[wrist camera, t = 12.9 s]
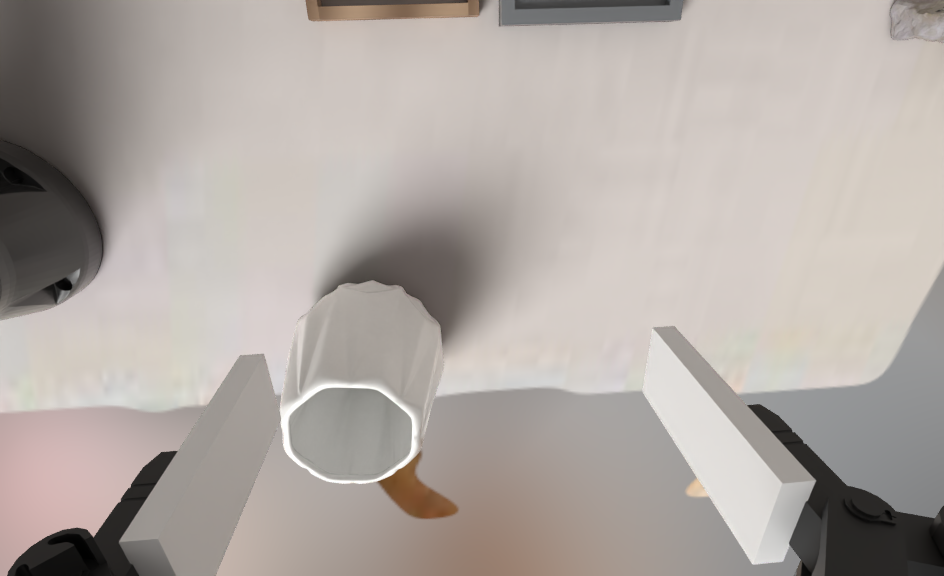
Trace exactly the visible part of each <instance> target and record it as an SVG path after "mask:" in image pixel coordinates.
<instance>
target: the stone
mask: <svg viewBox="0 0 944 576" xmlns="http://www.w3.org/2000/svg"><path fill="white" fill-rule="evenodd" d="M890 17H891V19H892V29H891V38H892V39H893V40H908V39H913V38H917V39H923V40H925V41H932V42H934V41H938V42H941V43H944V0H896V1H895V3H894V4H893V6H892V7H891V11H890Z"/></svg>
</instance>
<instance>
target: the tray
mask: <svg viewBox="0 0 944 576" xmlns="http://www.w3.org/2000/svg"><path fill="white" fill-rule="evenodd" d="M682 6H683V0H499V26H530V25H565V24H601V23H636V22H671V21H678V20H681V13H682Z"/></svg>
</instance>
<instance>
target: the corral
mask: <svg viewBox="0 0 944 576" xmlns="http://www.w3.org/2000/svg"><path fill="white" fill-rule="evenodd" d="M306 6H307V13H308V19H309V20H311V21H339V20H376V19H412V18H449V17H478V16H479V0H467V3H443V4H404V5H365V6H325V7H322V5H321V0H306Z"/></svg>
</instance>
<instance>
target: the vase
mask: <svg viewBox="0 0 944 576" xmlns="http://www.w3.org/2000/svg"><path fill="white" fill-rule="evenodd" d="M440 328H441V326H440V325H439V323H438V321H437V320H435V319H434V318H433V317H432V316H430V314H429V313H428V312H427V310H426V309H425V307H424V306H423V304H422V302H421V301H420V300H419V299H416V298H414V297H412V296H410V295H408V294H407V293H406V292H405V290H404V288H403V287H401V286H399V285H388V286H387V285H384V284H381V283H379V282H376V281H375V280H370V281H368V282H364V283H360V284H354V283H345V284H342V285H339V286H338V288H337V289H336V290H335V291H333V292H332V293H329V294H327V295H325V296H324V297H323V298H322V299H321V300H319V301H318V302H317V303H316V304H315V305H314V306H313V307H312V308H311V310H310V311H309V312H308V313H306V314H305V315H303V316H301V317H300V319H299V320H298V321H297V325H296V328H295V331H294V335H293V339H292V344H291V348H290V352H289V355H288V360H287V366H286V374H285V380H284V385H283V391H282V397H281V404H280V415H281V428H282V431H283V447H284V449H285V451H286V453H287V454H288V455H289V457H290V458H291V459H292V460H294V461H295V462H296V463H297V464H298V465H300V466H301V467H303V468H306V469H308V471H309V472H310V473H311V474H312V475H314V476H316V477H318V478H320V479H323V480H325V481H328V482H334V483H343V484H348V483H357V484H364V483H370V482H375V481H379V480H382V479H384V478H387V477H389V476H391V475H393V474H394V473H395V472H396V471H397V470H398V469H401V468H402V467H404V466H405V465H407V464H408V463H409V462H410V461H411V460H412V459H413V458H414V457H415V456H416V455H417V454H418V453H419V451H420V450H421V447H422V444H423V441H424V436H425V433H426V428H427V424H428V420H429V416H430V411H431V407H432V404H433V401H434V398H435V395H436V392H437V389H438V385H439V382H440V379H441V376H442V373H443V369H444V357H443V349H442V338H441V329H440Z"/></svg>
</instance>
